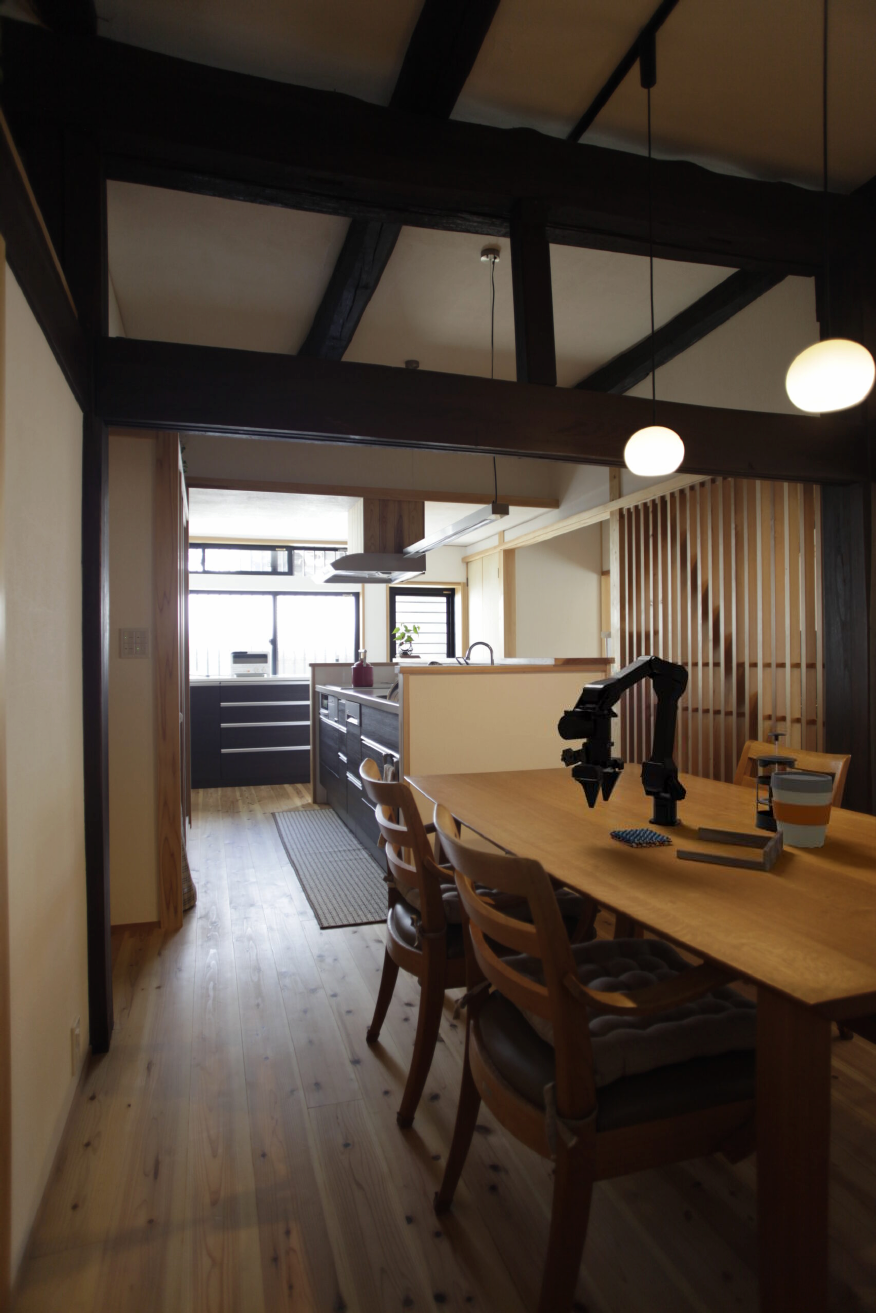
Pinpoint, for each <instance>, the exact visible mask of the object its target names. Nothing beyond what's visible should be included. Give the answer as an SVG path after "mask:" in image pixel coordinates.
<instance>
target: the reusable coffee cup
mask: <svg viewBox="0 0 876 1313" xmlns="http://www.w3.org/2000/svg"><path fill="white" fill-rule="evenodd" d="M771 775H772V776H771V785H770V786H771V787H772V791H773V798H772V806H773V813H774V818H775V819H776V821H777V829H778V830H781V831H783V843H784V844H783V845H786V844H787V846H790V845H791V847H795V846H797V847H796V848H802V847H809V848H808V849H815V848H814V847H819V848H822V847H821V846H823V845H825V838H826V837H825V836H826V831H827V825H829V824H830V818H831V812H832V802H831V797H832V792H833V791H834V786H833V778H832V776H830V775H827V774H823V773H818V772H807V771H795V770H793V771H792V770H791V771H789V770H788V771H787V770H785V771H777V772H776V771H774V772H772V773H771ZM823 847H824V846H823Z"/></svg>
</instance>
